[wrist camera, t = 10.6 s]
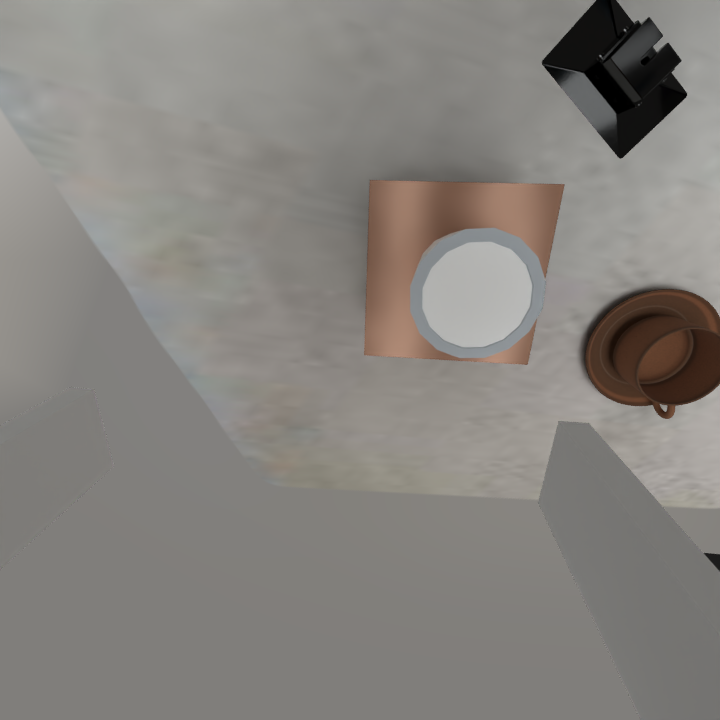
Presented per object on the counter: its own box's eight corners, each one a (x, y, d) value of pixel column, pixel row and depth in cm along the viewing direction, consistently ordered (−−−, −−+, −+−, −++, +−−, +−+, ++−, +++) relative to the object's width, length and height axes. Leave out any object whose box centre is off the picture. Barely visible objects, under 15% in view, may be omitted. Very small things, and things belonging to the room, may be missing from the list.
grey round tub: (493, 331, 27) (522, 369, 21) (398, 315, 27) (397, 348, 21) (522, 231, 25) (567, 239, 18) (417, 214, 25) (424, 216, 18)
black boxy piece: (699, 102, 31) (750, 84, 27) (615, 179, 34) (649, 175, 29) (600, -33, 29) (638, -77, 24) (518, 62, 31) (538, 38, 27)
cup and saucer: (722, 364, 39) (778, 391, 33) (602, 415, 42) (634, 447, 36) (686, 261, 35) (742, 271, 30) (559, 324, 39) (587, 344, 33)
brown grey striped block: (511, 192, 35) (564, 184, 23) (491, 320, 39) (527, 364, 28) (379, 188, 35) (369, 180, 24) (373, 314, 40) (364, 355, 29)
